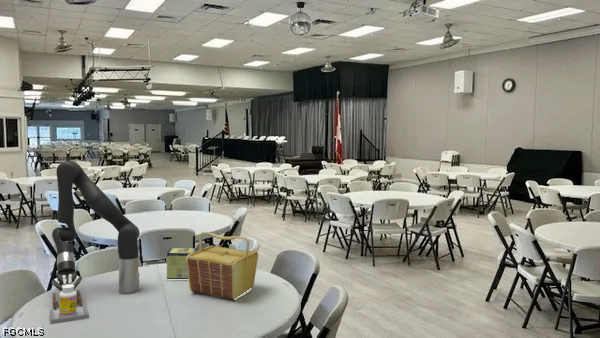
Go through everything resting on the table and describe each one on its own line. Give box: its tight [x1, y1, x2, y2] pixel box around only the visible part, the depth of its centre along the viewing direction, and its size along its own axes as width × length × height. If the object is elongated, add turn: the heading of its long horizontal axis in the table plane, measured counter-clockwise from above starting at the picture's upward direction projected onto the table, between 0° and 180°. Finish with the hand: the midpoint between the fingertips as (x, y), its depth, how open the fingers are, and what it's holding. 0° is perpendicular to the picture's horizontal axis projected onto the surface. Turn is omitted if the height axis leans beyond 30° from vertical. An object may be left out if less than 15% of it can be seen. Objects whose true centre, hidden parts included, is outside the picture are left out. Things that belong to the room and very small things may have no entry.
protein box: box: [166, 247, 198, 280], centre depth 254 cm, size 10×16×16 cm
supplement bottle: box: [58, 283, 78, 318], centre depth 198 cm, size 7×7×13 cm
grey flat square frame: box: [49, 304, 90, 325], centre depth 198 cm, size 14×13×2 cm
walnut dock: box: [52, 289, 83, 311], centre depth 212 cm, size 11×13×4 cm
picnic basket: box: [186, 231, 259, 300], centre depth 233 cm, size 29×26×30 cm
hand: (68, 297), depth 206 cm, fingers closed
